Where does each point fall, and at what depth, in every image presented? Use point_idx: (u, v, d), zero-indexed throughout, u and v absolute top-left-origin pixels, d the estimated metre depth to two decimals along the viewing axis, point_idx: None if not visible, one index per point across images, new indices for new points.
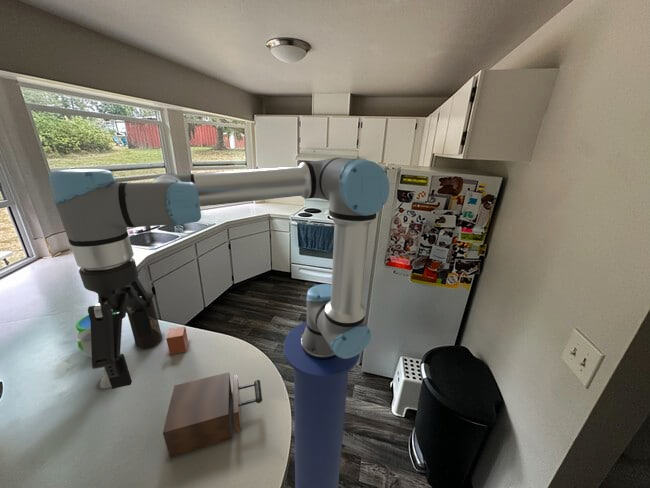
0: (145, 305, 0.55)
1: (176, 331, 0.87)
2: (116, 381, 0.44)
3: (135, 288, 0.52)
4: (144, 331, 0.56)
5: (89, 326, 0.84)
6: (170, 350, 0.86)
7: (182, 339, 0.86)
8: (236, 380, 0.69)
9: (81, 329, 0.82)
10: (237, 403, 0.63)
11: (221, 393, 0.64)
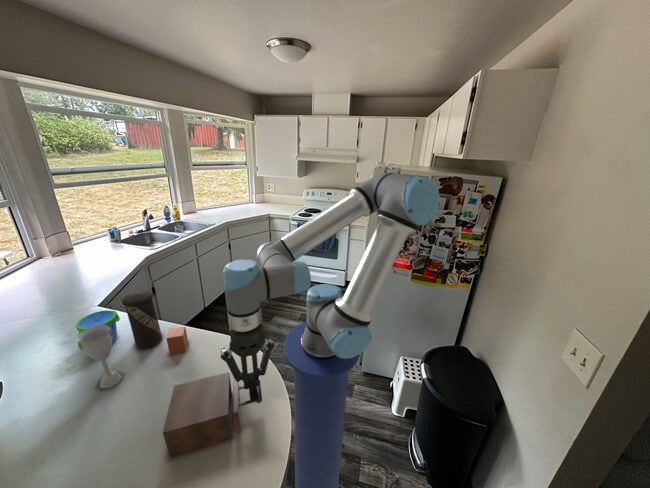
0: None
1: (176, 331, 0.87)
2: None
3: (233, 360, 0.62)
4: None
5: (89, 326, 0.84)
6: (170, 350, 0.86)
7: (182, 339, 0.86)
8: None
9: (81, 329, 0.82)
10: (237, 403, 0.63)
11: (221, 393, 0.64)
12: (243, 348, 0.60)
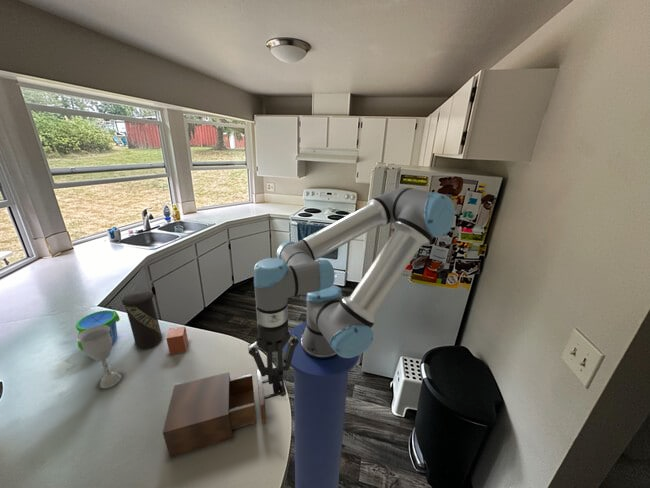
0: None
1: (176, 331, 0.87)
2: None
3: (259, 355, 0.64)
4: None
5: (89, 326, 0.84)
6: (170, 350, 0.86)
7: (182, 339, 0.86)
8: (260, 374, 0.71)
9: (81, 329, 0.82)
10: (263, 396, 0.65)
11: (221, 393, 0.64)
12: (270, 343, 0.62)
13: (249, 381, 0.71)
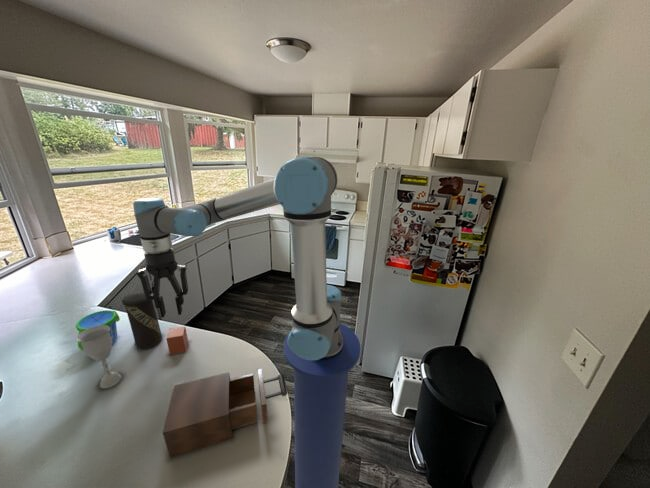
0: None
1: (176, 331, 0.87)
2: (180, 309, 0.84)
3: (148, 281, 0.78)
4: (164, 311, 0.83)
5: (89, 326, 0.84)
6: (170, 350, 0.86)
7: (182, 339, 0.86)
8: (261, 374, 0.71)
9: (81, 329, 0.82)
10: (264, 396, 0.65)
11: (221, 393, 0.64)
12: (157, 269, 0.76)
13: (250, 381, 0.71)
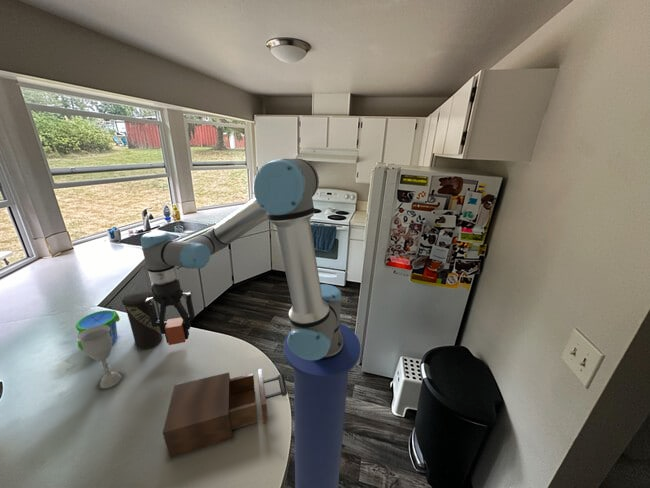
0: None
1: (174, 321, 0.86)
2: (187, 333, 0.88)
3: (154, 309, 0.82)
4: None
5: (89, 326, 0.84)
6: (169, 341, 0.84)
7: (181, 329, 0.84)
8: (261, 374, 0.71)
9: (81, 329, 0.82)
10: (264, 396, 0.65)
11: (221, 393, 0.64)
12: (164, 298, 0.80)
13: (250, 381, 0.71)
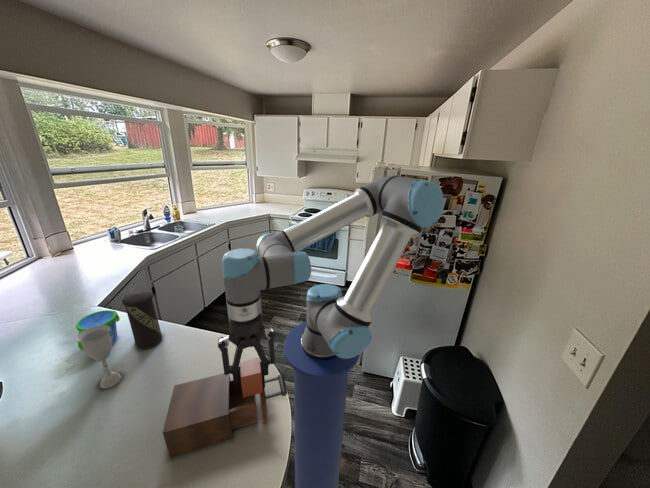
0: None
1: (250, 366, 0.65)
2: None
3: (227, 351, 0.61)
4: None
5: (89, 326, 0.84)
6: (244, 392, 0.63)
7: (260, 377, 0.63)
8: None
9: (81, 329, 0.82)
10: (264, 396, 0.65)
11: (221, 393, 0.64)
12: (243, 339, 0.59)
13: None
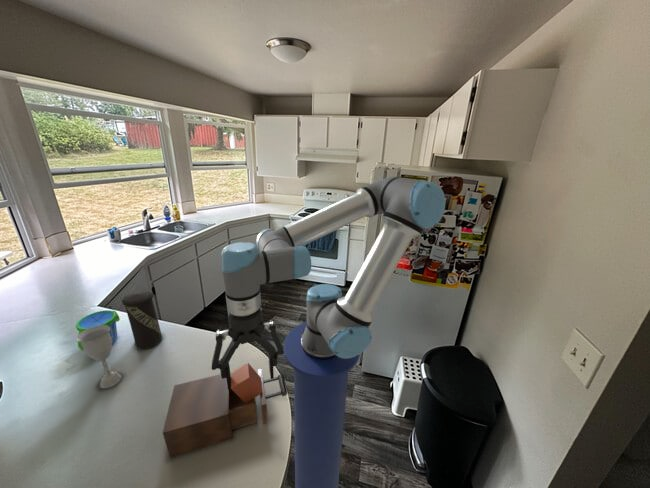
0: None
1: (239, 373, 0.64)
2: None
3: None
4: (230, 380, 0.64)
5: (89, 326, 0.84)
6: (243, 399, 0.64)
7: (251, 382, 0.63)
8: (261, 374, 0.71)
9: (81, 329, 0.82)
10: (264, 396, 0.65)
11: (221, 393, 0.64)
12: (243, 334, 0.58)
13: None
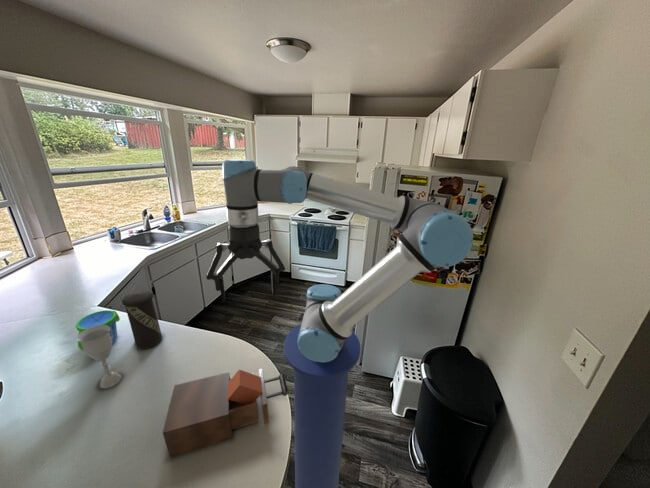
0: None
1: (233, 382, 0.65)
2: None
3: None
4: (224, 295, 0.68)
5: (89, 326, 0.84)
6: (246, 403, 0.65)
7: (244, 387, 0.63)
8: (262, 374, 0.71)
9: (81, 329, 0.82)
10: (265, 395, 0.65)
11: (221, 393, 0.64)
12: (242, 248, 0.64)
13: None
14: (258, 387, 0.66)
